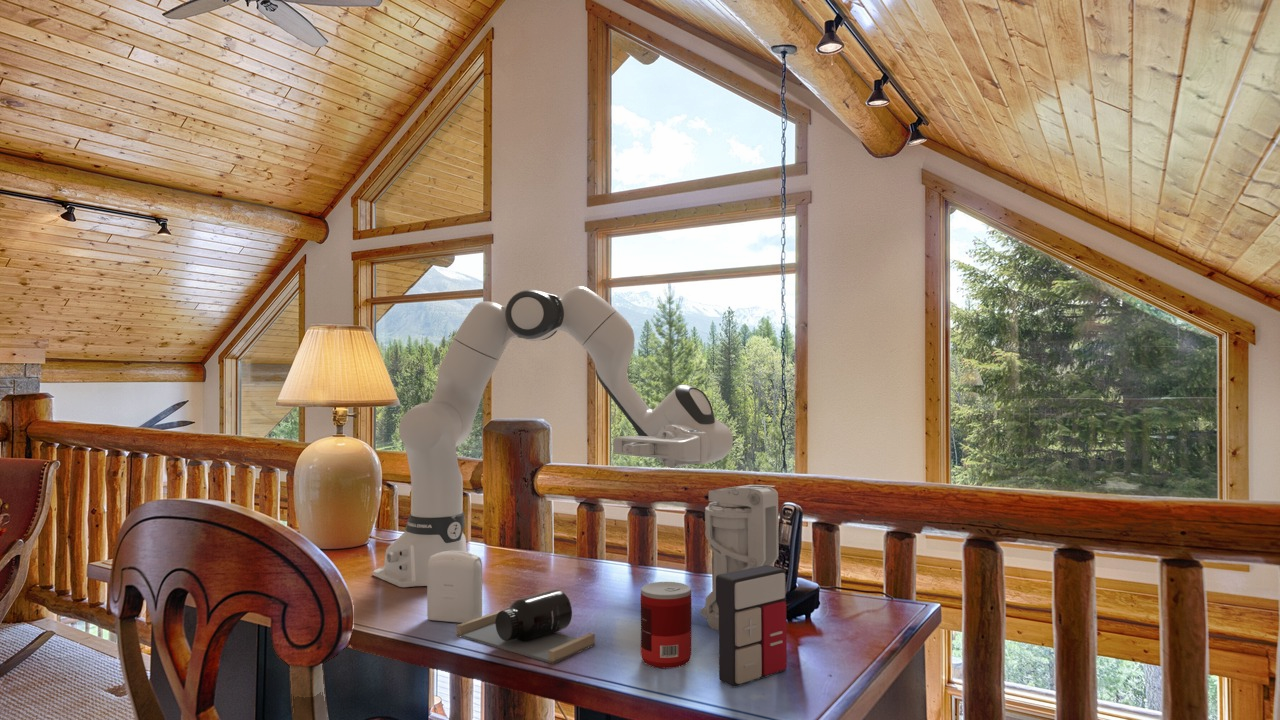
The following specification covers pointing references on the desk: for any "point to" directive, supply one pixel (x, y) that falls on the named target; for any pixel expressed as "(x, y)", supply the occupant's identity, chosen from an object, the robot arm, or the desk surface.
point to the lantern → (740, 534)
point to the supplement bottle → (534, 616)
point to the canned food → (666, 624)
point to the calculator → (751, 624)
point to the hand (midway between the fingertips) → (627, 449)
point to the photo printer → (454, 587)
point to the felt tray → (540, 648)
